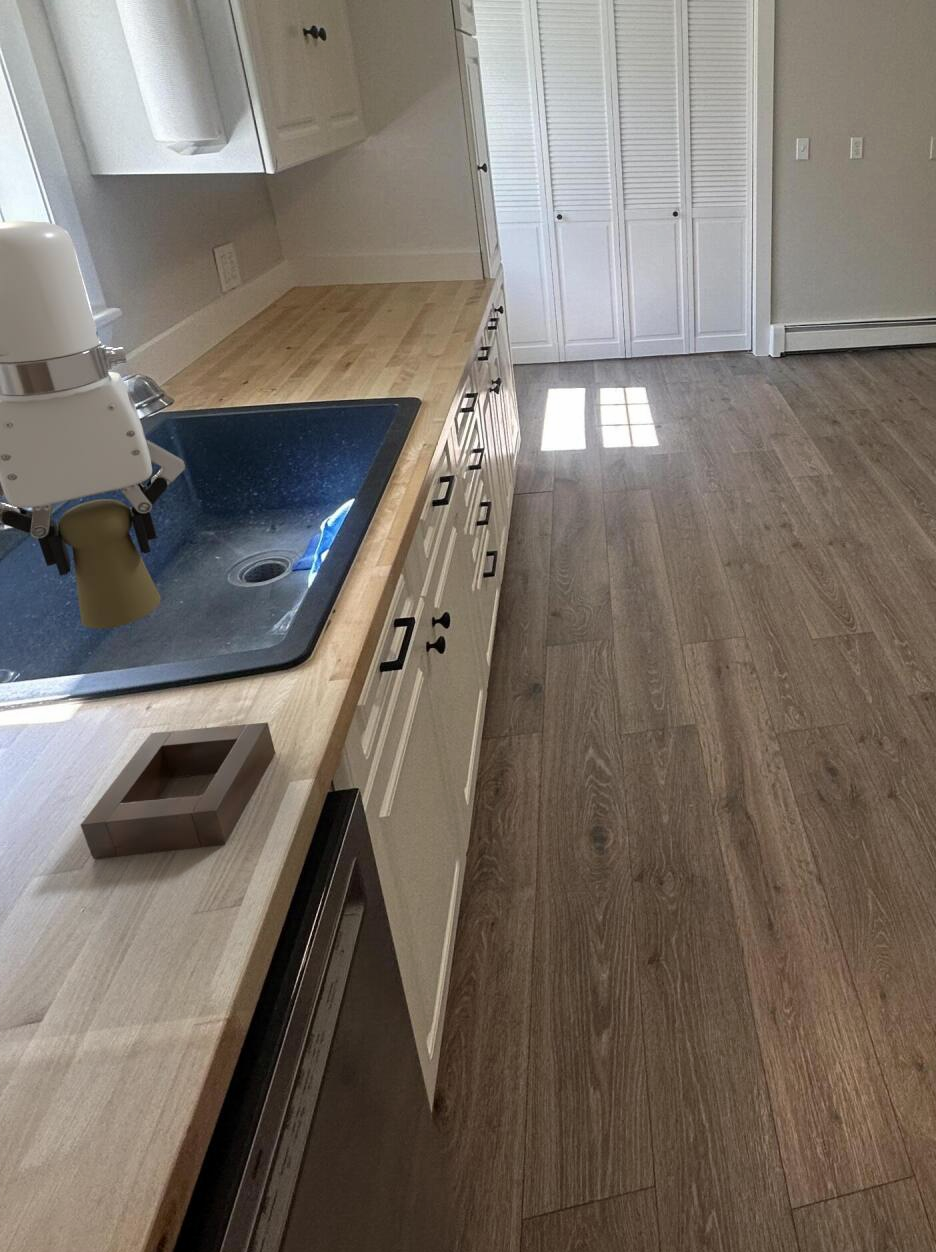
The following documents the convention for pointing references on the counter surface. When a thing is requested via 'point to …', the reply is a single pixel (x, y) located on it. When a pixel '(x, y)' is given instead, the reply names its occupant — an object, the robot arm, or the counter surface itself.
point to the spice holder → (154, 825)
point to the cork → (107, 565)
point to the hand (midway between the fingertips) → (105, 555)
